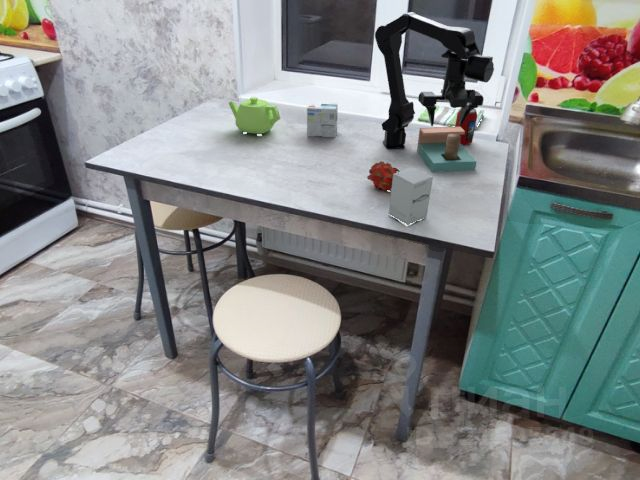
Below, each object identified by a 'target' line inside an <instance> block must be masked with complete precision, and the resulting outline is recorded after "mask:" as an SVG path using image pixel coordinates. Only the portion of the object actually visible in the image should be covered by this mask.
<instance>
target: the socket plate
mask: <svg viewBox="0 0 640 480" xmlns="http://www.w3.org/2000/svg"><path fill="white" fill-rule="evenodd" d="M418 130H419V131H418V139H417V148H416V151H417V152H418V154H419V155H420V157H421V159H422V160H423V161H424V163H425V164H426V165H427V167H428V168H429V170H430V171H431V172H432V173H437V172H438V173H439V172H440V173H442V172H459V171H462V172H463V171H464V172H465V171H475V170H476V168H477V160H476V159H475V157H474V156H472V155H471V153H470V152H469V151H468V150H467V148H465V147H464V145H461V144H460V145H459V150H458V156H457V160H451V161H445V159H444V155H445V149H446V143H447V137H448V135H449V134H458V135H460V134H465V131H464V130H463V129H462V128H461V127H460V126H459V127H450V126H440V127H439V126H437V127H433V126H431V127H420V128H419V129H418Z"/></svg>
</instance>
